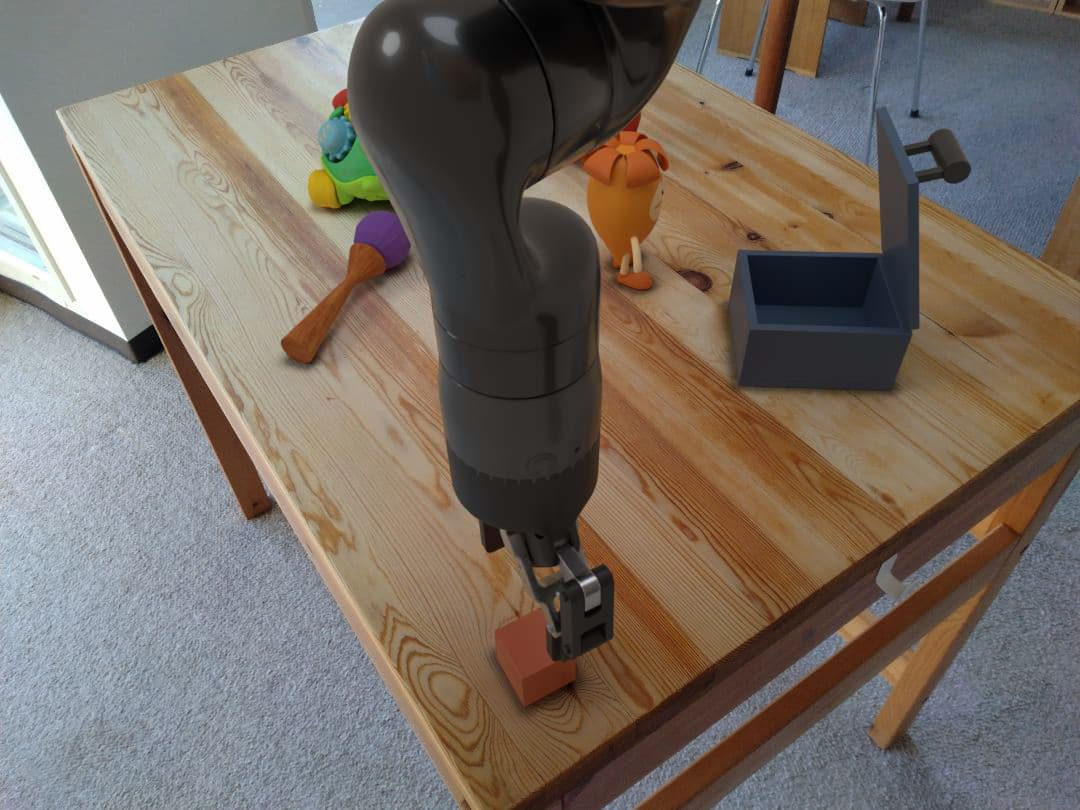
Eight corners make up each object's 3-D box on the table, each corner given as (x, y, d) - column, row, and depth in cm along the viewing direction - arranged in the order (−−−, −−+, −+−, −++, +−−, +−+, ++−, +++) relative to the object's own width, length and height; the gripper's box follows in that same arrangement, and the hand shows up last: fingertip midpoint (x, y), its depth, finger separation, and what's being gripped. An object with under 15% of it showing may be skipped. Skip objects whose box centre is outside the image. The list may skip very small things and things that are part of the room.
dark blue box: (738, 386, 77) (749, 329, 72) (728, 305, 85) (737, 249, 80) (891, 391, 76) (913, 334, 71) (866, 309, 84) (884, 252, 80)
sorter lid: (907, 184, 62) (985, 167, 60) (875, 108, 70) (943, 91, 68) (909, 331, 71) (976, 319, 70) (881, 249, 79) (941, 237, 78)
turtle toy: (469, 127, 112) (461, 38, 104) (451, 227, 96) (440, 131, 88) (343, 128, 113) (325, 39, 104) (304, 228, 97) (278, 132, 88)
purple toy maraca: (257, 324, 79) (363, 198, 90) (285, 369, 83) (383, 244, 95) (307, 330, 76) (410, 200, 88) (334, 376, 81) (428, 246, 92)
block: (575, 679, 58) (576, 651, 55) (524, 707, 57) (521, 680, 54) (547, 633, 60) (546, 604, 58) (497, 659, 59) (493, 630, 56)
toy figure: (669, 303, 86) (683, 171, 75) (592, 313, 85) (594, 180, 74) (641, 236, 94) (650, 108, 83) (570, 244, 93) (570, 116, 82)
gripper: (674, 486, 37) (647, 661, 49) (521, 304, 46) (529, 490, 57) (522, 557, 35) (532, 723, 46) (391, 352, 43) (428, 535, 55)
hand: (530, 594), depth 52 cm, fingers open, 8 cm apart
